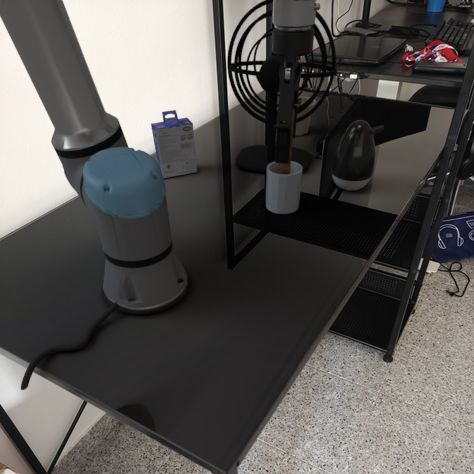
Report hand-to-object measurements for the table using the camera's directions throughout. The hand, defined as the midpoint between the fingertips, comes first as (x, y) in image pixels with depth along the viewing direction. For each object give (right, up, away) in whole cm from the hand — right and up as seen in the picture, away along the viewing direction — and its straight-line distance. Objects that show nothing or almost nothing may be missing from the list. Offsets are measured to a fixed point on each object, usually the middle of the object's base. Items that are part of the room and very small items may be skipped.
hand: (285, 149), depth 92 cm
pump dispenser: (+18, -2, +16) cm, 24 cm away
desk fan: (0, +9, +27) cm, 28 cm away
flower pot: (+8, +25, +42) cm, 49 cm away
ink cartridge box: (-26, +5, +23) cm, 35 cm away
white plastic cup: (0, -9, +9) cm, 13 cm away
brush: (0, -9, +9) cm, 12 cm away
